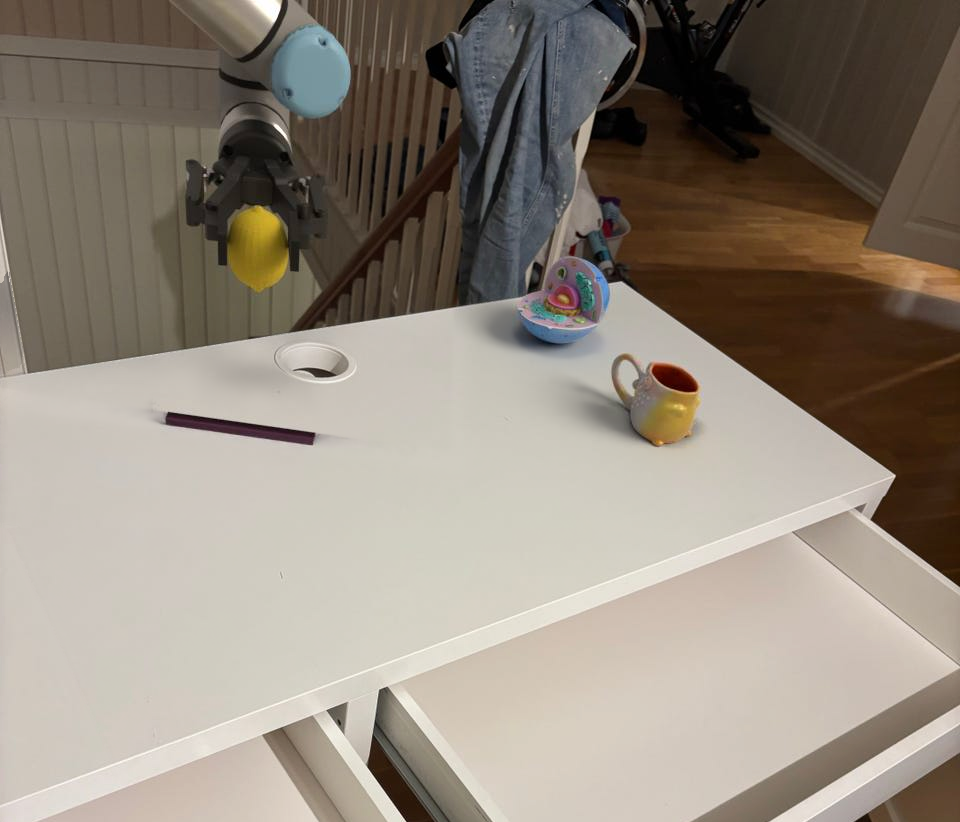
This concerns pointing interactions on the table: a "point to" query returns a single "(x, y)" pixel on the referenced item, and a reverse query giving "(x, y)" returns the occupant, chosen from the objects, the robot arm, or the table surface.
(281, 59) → the robot arm
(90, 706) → the table surface
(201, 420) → the dark purple flat bar
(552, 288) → the cell model
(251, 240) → the lemon
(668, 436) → the mug
